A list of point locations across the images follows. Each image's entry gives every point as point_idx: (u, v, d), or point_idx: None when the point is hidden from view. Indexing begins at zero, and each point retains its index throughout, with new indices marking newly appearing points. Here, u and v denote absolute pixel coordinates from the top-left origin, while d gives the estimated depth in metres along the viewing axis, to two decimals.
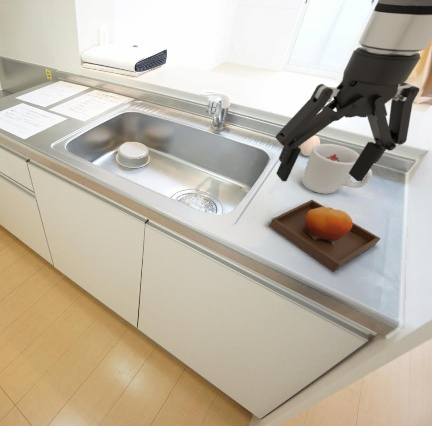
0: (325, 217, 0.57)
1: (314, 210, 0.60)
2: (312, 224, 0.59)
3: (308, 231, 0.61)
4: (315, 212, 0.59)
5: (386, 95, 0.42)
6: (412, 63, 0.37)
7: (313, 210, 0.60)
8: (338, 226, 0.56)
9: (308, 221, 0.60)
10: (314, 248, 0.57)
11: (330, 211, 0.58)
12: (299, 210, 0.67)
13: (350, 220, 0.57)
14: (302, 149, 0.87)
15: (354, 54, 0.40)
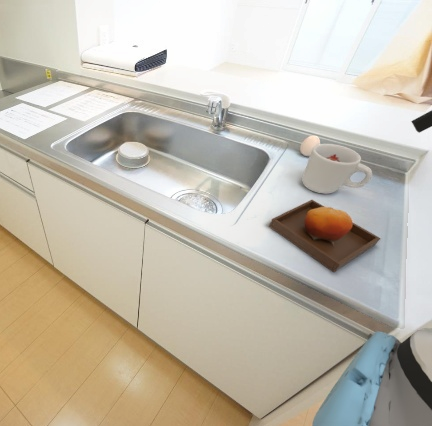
0: (325, 217, 0.57)
1: (314, 210, 0.60)
2: (312, 224, 0.59)
3: (308, 231, 0.61)
4: (315, 212, 0.59)
5: None
6: None
7: (313, 210, 0.60)
8: (338, 226, 0.56)
9: (308, 221, 0.60)
10: (314, 248, 0.57)
11: (330, 211, 0.58)
12: (299, 210, 0.67)
13: (350, 220, 0.57)
14: (302, 149, 0.87)
15: None
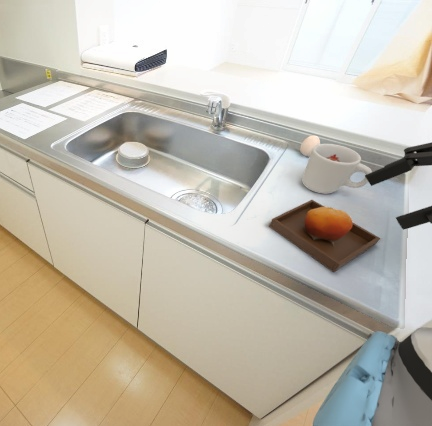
0: (325, 217, 0.57)
1: (314, 210, 0.60)
2: (312, 224, 0.59)
3: (308, 231, 0.61)
4: (315, 212, 0.59)
5: None
6: None
7: (313, 210, 0.60)
8: (338, 226, 0.56)
9: (308, 221, 0.60)
10: (314, 248, 0.57)
11: (330, 211, 0.58)
12: (299, 210, 0.67)
13: (350, 220, 0.57)
14: (302, 149, 0.87)
15: None
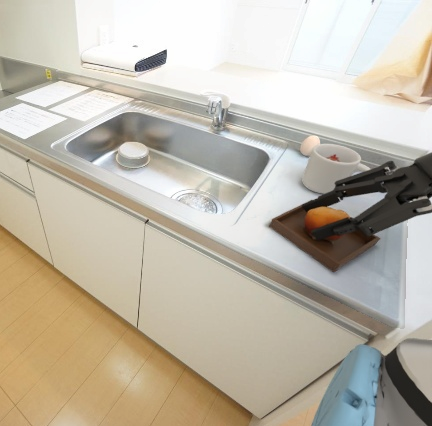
0: (325, 217, 0.57)
1: (314, 210, 0.60)
2: (312, 224, 0.59)
3: (308, 231, 0.61)
4: (315, 212, 0.59)
5: (417, 187, 0.48)
6: None
7: (313, 210, 0.60)
8: None
9: (308, 221, 0.60)
10: (314, 248, 0.57)
11: (330, 211, 0.58)
12: (299, 210, 0.67)
13: None
14: (302, 149, 0.87)
15: None
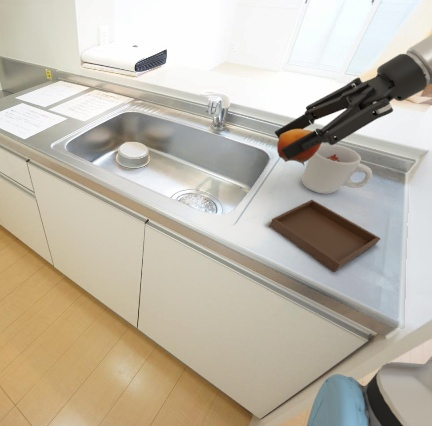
0: (294, 135, 0.59)
1: (285, 132, 0.62)
2: (283, 145, 0.61)
3: (280, 154, 0.63)
4: (285, 133, 0.61)
5: (378, 92, 0.50)
6: (404, 59, 0.47)
7: None
8: None
9: (279, 143, 0.62)
10: (314, 248, 0.57)
11: (300, 130, 0.60)
12: (299, 210, 0.67)
13: None
14: None
15: None
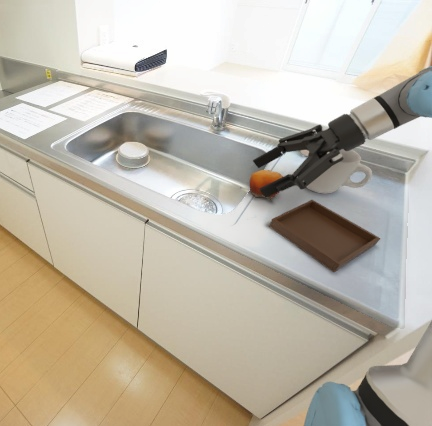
0: (262, 177, 0.70)
1: (255, 172, 0.73)
2: (253, 184, 0.72)
3: (251, 190, 0.74)
4: (255, 173, 0.72)
5: (327, 144, 0.61)
6: (346, 120, 0.58)
7: (255, 172, 0.73)
8: None
9: (251, 181, 0.73)
10: (314, 248, 0.57)
11: (267, 172, 0.70)
12: (299, 210, 0.67)
13: None
14: None
15: None
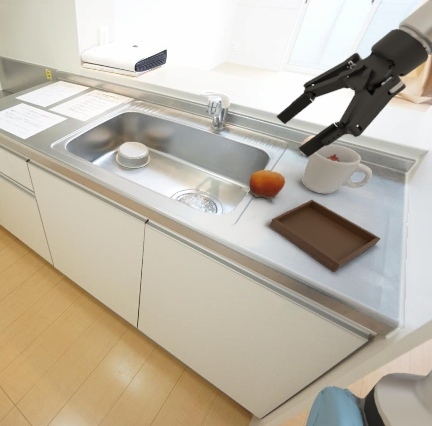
0: (262, 177, 0.70)
1: (255, 172, 0.73)
2: (253, 184, 0.72)
3: (251, 190, 0.74)
4: (255, 173, 0.72)
5: (377, 74, 0.48)
6: (400, 36, 0.45)
7: (255, 172, 0.73)
8: (272, 183, 0.69)
9: (251, 181, 0.73)
10: (314, 248, 0.57)
11: (267, 172, 0.70)
12: (299, 210, 0.67)
13: (282, 179, 0.69)
14: None
15: None
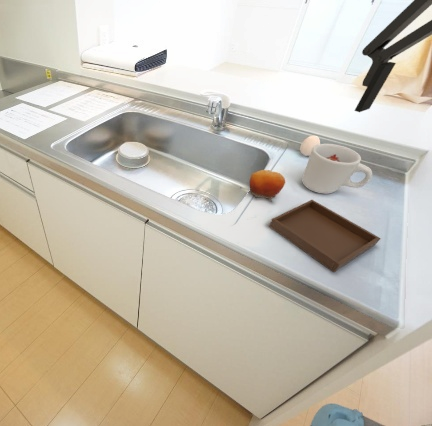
0: (262, 177, 0.70)
1: (255, 172, 0.73)
2: (253, 184, 0.72)
3: (251, 190, 0.74)
4: (255, 173, 0.72)
5: None
6: None
7: (255, 172, 0.73)
8: (272, 183, 0.69)
9: (251, 181, 0.73)
10: (314, 248, 0.57)
11: (267, 172, 0.70)
12: (299, 210, 0.67)
13: (282, 179, 0.69)
14: (302, 149, 0.87)
15: None
